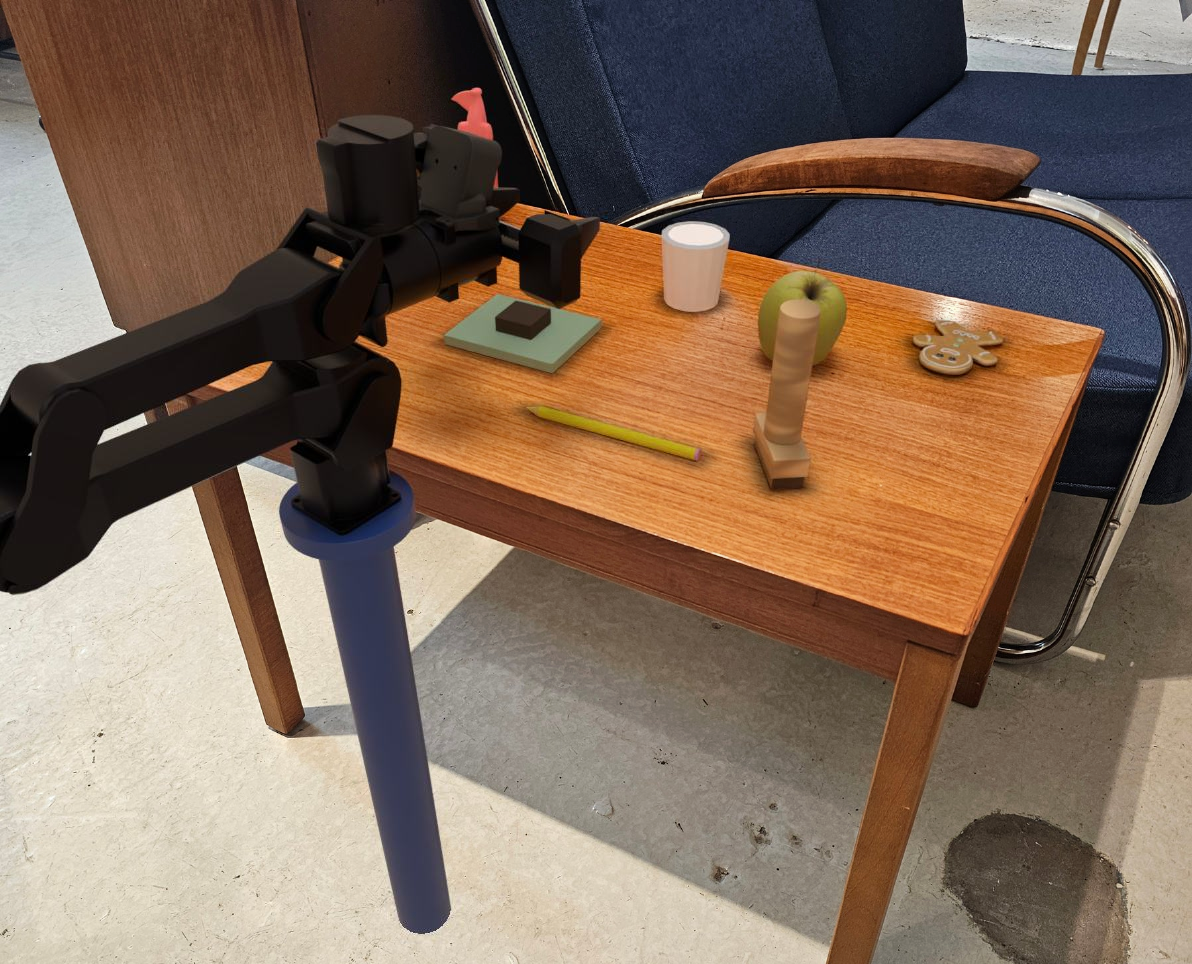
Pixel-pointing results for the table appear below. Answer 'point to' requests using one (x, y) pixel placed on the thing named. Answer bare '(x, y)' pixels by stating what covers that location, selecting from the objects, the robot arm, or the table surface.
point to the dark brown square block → (523, 320)
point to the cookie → (956, 348)
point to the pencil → (617, 432)
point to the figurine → (475, 116)
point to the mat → (537, 353)
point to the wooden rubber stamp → (788, 397)
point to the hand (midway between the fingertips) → (557, 208)
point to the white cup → (693, 264)
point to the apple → (808, 289)
